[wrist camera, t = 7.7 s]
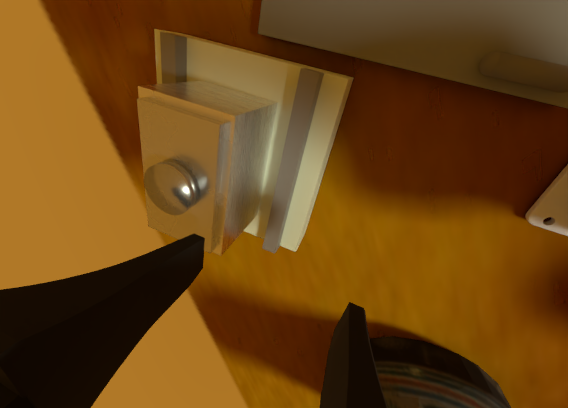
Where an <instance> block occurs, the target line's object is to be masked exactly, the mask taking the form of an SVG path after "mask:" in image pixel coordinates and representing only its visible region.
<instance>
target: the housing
mask: <svg viewBox="0 0 568 408" xmlns="http://www.w3.org/2000/svg"><path fill="white" fill-rule="evenodd" d="M138 95H139V98H137V107H138V118H139V129H140V140H141V151H142V162H143V173H144V186H145V195H146V206H147V217H148V226H149V227H151V228H153V229H156V230H158V231H160V232H163V233H165V234H167V235H169V236H172V237H174V238H176V239H179V240H180V239H182V238H184V237H187V236H189V235H191V234H194V233H195V234H197V235H199V236H201V237H204V238H205V243H204V251H206V252H208V253H211V252H213V253H216V254H218V255H220V256H221V255H222V254H223V253H224V252H225V251H226V250H227V249H228V248H229V246H230V245H231V244H232V243H233V242H234V241H235V240H236V238H237V237H238V236H239V235H240V234H241V233H242V232H243V231H244V229H245V228H246V227H247V226H248V225H249V224H250V223H251V222H252V220H253V219H254V218H255V217H256V216H257V215H258V210H259V204H260V199H261V193H262V188H263V182H264V177H265V171H266V166H267V160H268V155H269V149H270V144H271V138H272V133H273V127H274V122H275V116H276V111H277V105H278V102H275V101H271V100H268V99H265V98H261V97H258V96H254V95H251V94H247V93H244V92H240V91H237V90H234V89H230V88H227V87H223V86H220V85H216V84H213V83H210V82H206V81H193V82H180V83H167V84H154V85H140V86H138Z"/></svg>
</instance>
